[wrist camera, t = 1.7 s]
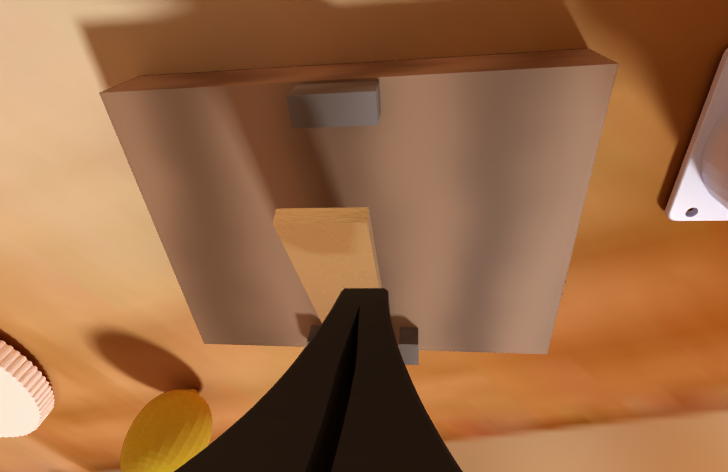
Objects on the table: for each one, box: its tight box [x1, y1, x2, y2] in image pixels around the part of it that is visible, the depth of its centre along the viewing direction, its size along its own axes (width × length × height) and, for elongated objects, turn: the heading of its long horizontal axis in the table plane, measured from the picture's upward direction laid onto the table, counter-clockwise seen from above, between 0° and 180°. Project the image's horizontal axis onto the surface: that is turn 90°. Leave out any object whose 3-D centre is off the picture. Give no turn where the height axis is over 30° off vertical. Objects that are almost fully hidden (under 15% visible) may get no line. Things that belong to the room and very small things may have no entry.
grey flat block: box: [99, 49, 618, 365], centre depth 20 cm, size 20×15×5 cm
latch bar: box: [273, 207, 382, 323], centre depth 18 cm, size 3×12×1 cm, turn 5°
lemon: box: [120, 389, 212, 472], centre depth 30 cm, size 6×6×8 cm
